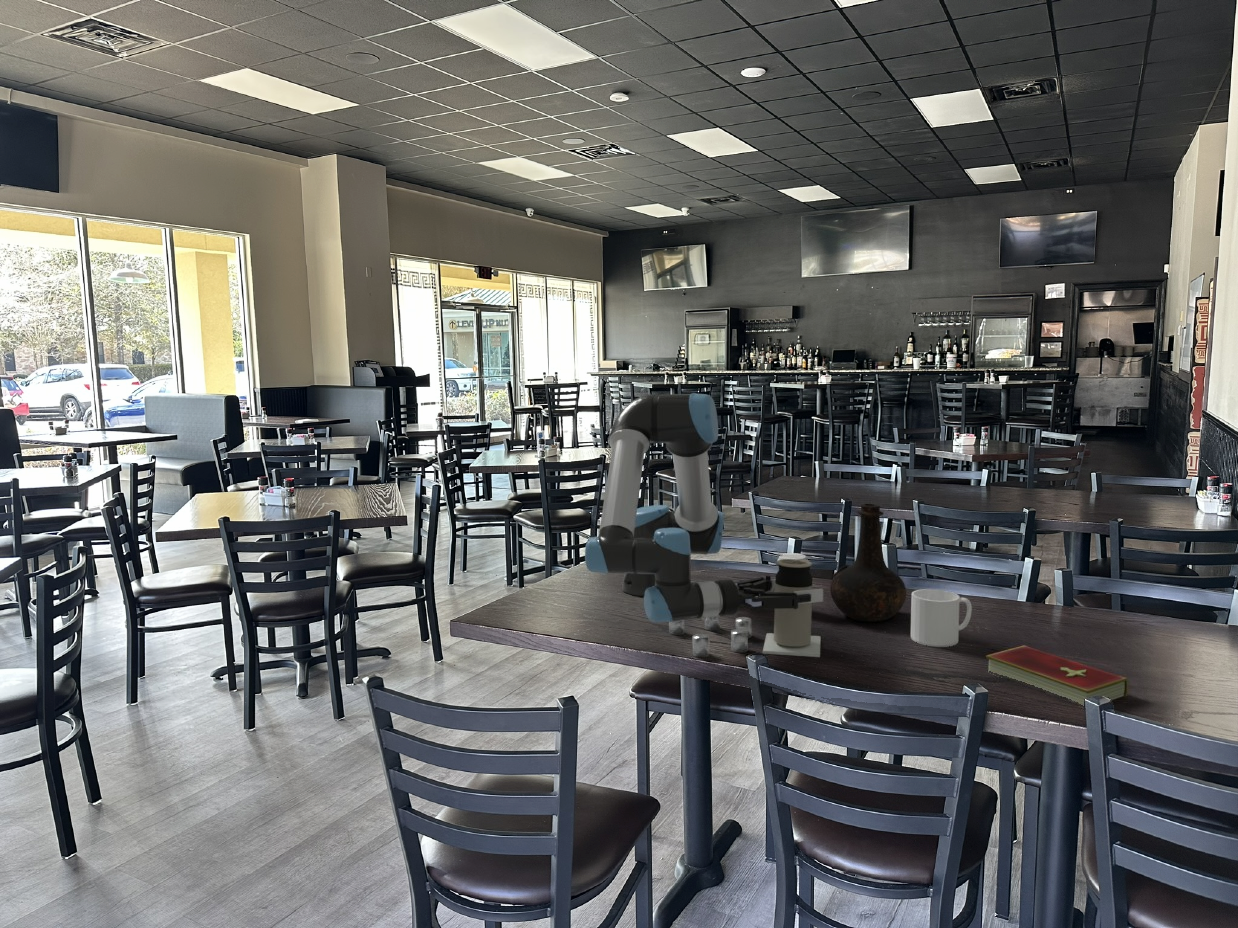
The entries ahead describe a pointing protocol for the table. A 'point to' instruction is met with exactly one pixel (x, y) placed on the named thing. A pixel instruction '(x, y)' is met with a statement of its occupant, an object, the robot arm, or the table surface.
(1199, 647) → the table surface
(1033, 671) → the hardcover book
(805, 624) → the travel mug
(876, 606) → the glass bottle
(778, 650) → the rubber mat
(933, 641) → the mug
